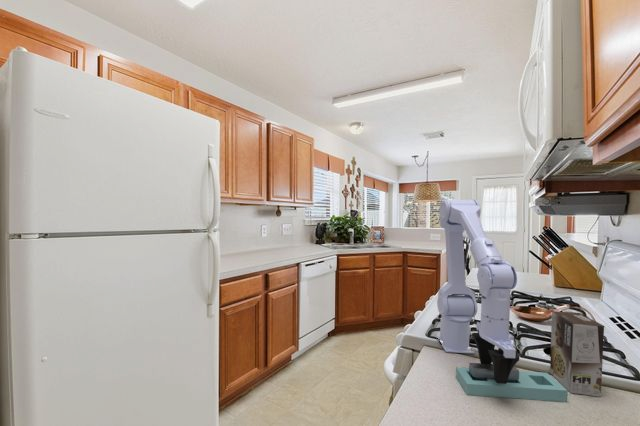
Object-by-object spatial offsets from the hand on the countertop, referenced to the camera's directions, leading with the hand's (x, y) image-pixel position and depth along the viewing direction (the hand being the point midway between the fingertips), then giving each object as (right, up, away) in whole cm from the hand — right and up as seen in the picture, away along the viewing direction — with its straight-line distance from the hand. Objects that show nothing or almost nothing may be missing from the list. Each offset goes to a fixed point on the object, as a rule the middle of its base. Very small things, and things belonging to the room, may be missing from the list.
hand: (492, 373), depth 71 cm
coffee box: (+21, -4, +2) cm, 21 cm away
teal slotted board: (+3, -4, 0) cm, 5 cm away
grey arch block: (0, -3, 0) cm, 3 cm away
